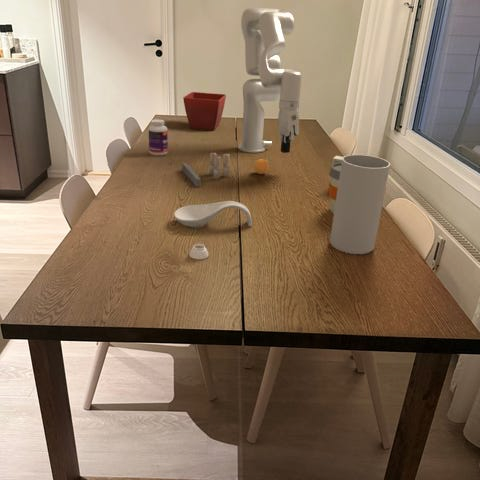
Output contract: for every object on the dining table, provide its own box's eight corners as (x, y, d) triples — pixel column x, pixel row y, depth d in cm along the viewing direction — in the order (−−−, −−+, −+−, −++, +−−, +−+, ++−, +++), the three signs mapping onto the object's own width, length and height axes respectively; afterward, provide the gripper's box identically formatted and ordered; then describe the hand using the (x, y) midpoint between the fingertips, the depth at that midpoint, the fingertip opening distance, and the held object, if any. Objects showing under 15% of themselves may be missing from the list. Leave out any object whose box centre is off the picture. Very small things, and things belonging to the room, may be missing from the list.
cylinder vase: (365, 260, 133) (382, 171, 122) (322, 247, 138) (335, 161, 128) (379, 244, 142) (396, 160, 132) (339, 232, 148) (351, 152, 137)
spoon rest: (173, 232, 143) (173, 209, 140) (174, 216, 153) (174, 194, 150) (253, 232, 146) (255, 210, 142) (248, 217, 156) (250, 195, 153)
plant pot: (182, 129, 257) (182, 97, 250) (191, 122, 274) (192, 91, 267) (218, 133, 255) (219, 100, 247) (225, 125, 272) (226, 94, 264)
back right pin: (214, 173, 193) (215, 152, 189) (216, 175, 191) (217, 154, 187) (208, 174, 192) (209, 152, 189) (210, 175, 190) (211, 154, 187)
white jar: (212, 256, 130) (198, 250, 133) (212, 246, 129) (198, 240, 132) (199, 262, 126) (185, 256, 129) (199, 252, 125) (185, 246, 128)
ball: (264, 171, 200) (265, 156, 197) (270, 175, 195) (272, 161, 192) (251, 171, 198) (252, 157, 195) (256, 176, 193) (257, 161, 190)
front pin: (227, 174, 193) (228, 153, 189) (229, 176, 191) (230, 155, 187) (221, 175, 192) (222, 154, 188) (223, 177, 190) (224, 155, 186)
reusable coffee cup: (317, 210, 164) (323, 166, 158) (337, 201, 172) (343, 160, 166) (349, 221, 156) (357, 176, 150) (369, 212, 165) (377, 169, 159)
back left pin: (218, 177, 189) (219, 156, 185) (220, 179, 187) (221, 157, 183) (212, 178, 188) (213, 156, 184) (214, 179, 186) (215, 158, 182)
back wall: (186, 170, 195) (186, 162, 194) (200, 186, 178) (200, 178, 177) (182, 170, 194) (182, 163, 193) (196, 187, 178) (196, 179, 176)
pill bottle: (166, 156, 210) (165, 123, 204) (147, 155, 210) (146, 122, 204) (169, 151, 218) (168, 119, 211) (151, 150, 218) (150, 118, 211)
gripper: (306, 108, 183) (302, 156, 190) (289, 102, 195) (285, 147, 203) (288, 108, 180) (284, 157, 188) (272, 102, 193) (268, 148, 200)
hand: (285, 152), depth 195 cm, fingers closed
